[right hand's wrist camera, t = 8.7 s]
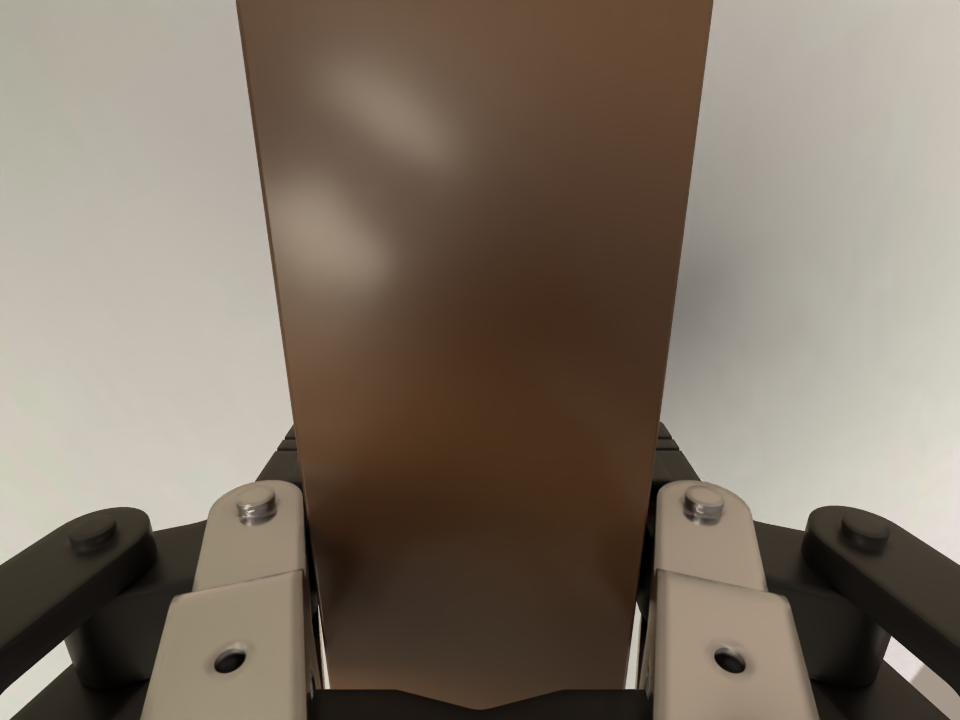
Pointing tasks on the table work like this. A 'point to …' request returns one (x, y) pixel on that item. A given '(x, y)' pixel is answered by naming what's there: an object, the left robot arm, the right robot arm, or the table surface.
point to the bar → (476, 319)
